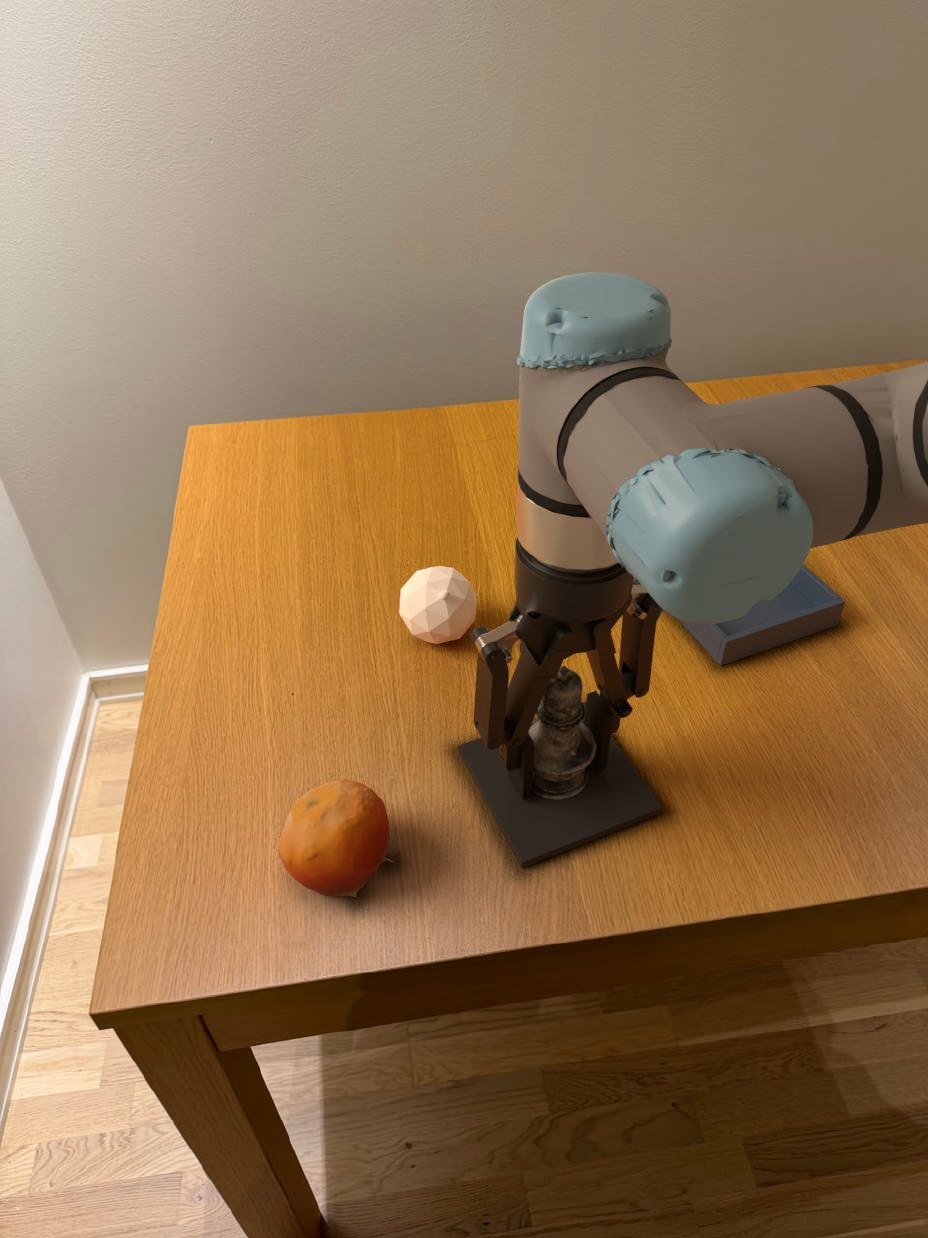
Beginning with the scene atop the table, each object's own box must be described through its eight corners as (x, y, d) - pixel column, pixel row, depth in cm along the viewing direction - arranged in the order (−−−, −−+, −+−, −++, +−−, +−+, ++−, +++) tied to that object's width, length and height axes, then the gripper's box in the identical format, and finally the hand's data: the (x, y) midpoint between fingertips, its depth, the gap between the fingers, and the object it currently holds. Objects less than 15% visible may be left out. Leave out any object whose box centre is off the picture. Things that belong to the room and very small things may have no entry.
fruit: (374, 931, 60) (311, 848, 57) (302, 917, 65) (241, 841, 62) (435, 842, 65) (381, 761, 62) (364, 836, 70) (311, 761, 67)
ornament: (484, 607, 86) (501, 588, 78) (436, 665, 84) (449, 651, 77) (428, 561, 86) (440, 537, 78) (379, 618, 84) (387, 599, 76)
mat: (661, 813, 68) (663, 807, 68) (521, 869, 65) (522, 863, 65) (586, 707, 77) (586, 701, 76) (458, 751, 73) (457, 745, 73)
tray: (837, 625, 84) (846, 601, 82) (720, 666, 80) (726, 642, 78) (751, 546, 93) (757, 523, 91) (642, 580, 89) (646, 557, 87)
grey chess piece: (513, 747, 72) (516, 641, 64) (584, 740, 73) (595, 634, 65) (524, 806, 68) (529, 701, 60) (600, 799, 69) (614, 692, 60)
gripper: (673, 471, 60) (635, 703, 75) (411, 543, 54) (428, 776, 70) (741, 533, 55) (685, 768, 70) (459, 618, 49) (466, 852, 65)
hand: (557, 771), depth 70 cm, fingers closed on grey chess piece, 6 cm apart
